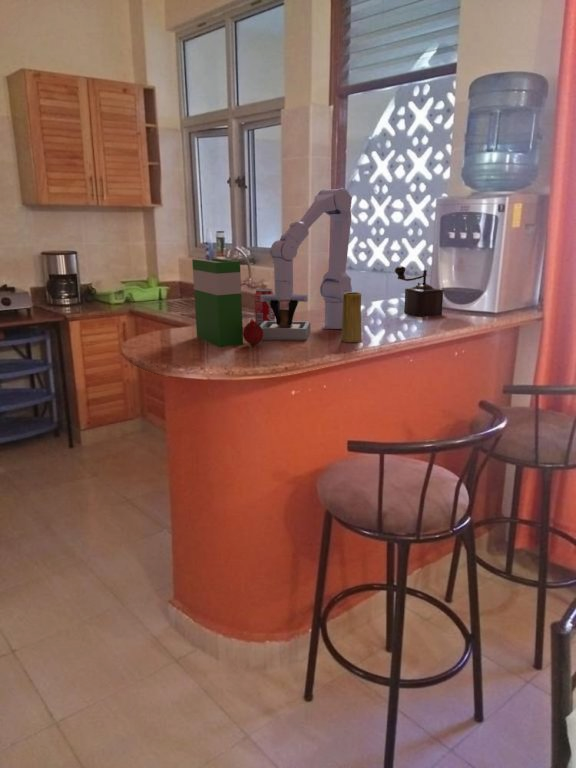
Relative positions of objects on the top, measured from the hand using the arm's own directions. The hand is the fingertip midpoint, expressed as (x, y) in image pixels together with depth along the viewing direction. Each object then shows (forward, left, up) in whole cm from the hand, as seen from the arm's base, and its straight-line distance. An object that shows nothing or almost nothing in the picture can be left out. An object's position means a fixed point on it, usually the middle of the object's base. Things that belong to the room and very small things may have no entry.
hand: (284, 324), depth 176 cm
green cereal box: (+19, +8, -4) cm, 21 cm away
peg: (0, 0, -2) cm, 2 cm away
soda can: (+10, -21, -4) cm, 24 cm away
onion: (+7, +15, -4) cm, 17 cm away
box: (0, 0, -4) cm, 4 cm away
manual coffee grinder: (-44, -44, -4) cm, 62 cm away
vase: (-21, +6, -4) cm, 22 cm away
